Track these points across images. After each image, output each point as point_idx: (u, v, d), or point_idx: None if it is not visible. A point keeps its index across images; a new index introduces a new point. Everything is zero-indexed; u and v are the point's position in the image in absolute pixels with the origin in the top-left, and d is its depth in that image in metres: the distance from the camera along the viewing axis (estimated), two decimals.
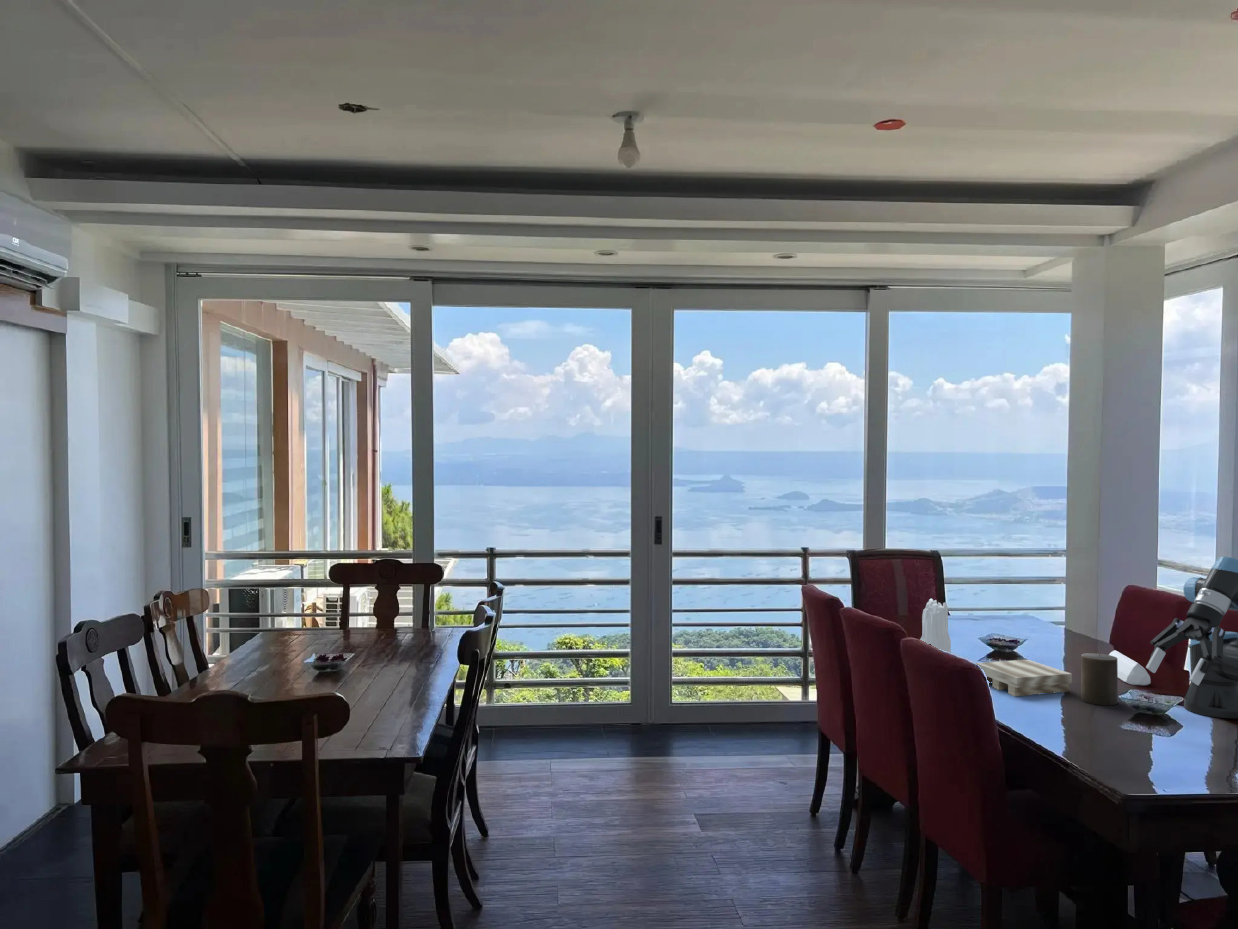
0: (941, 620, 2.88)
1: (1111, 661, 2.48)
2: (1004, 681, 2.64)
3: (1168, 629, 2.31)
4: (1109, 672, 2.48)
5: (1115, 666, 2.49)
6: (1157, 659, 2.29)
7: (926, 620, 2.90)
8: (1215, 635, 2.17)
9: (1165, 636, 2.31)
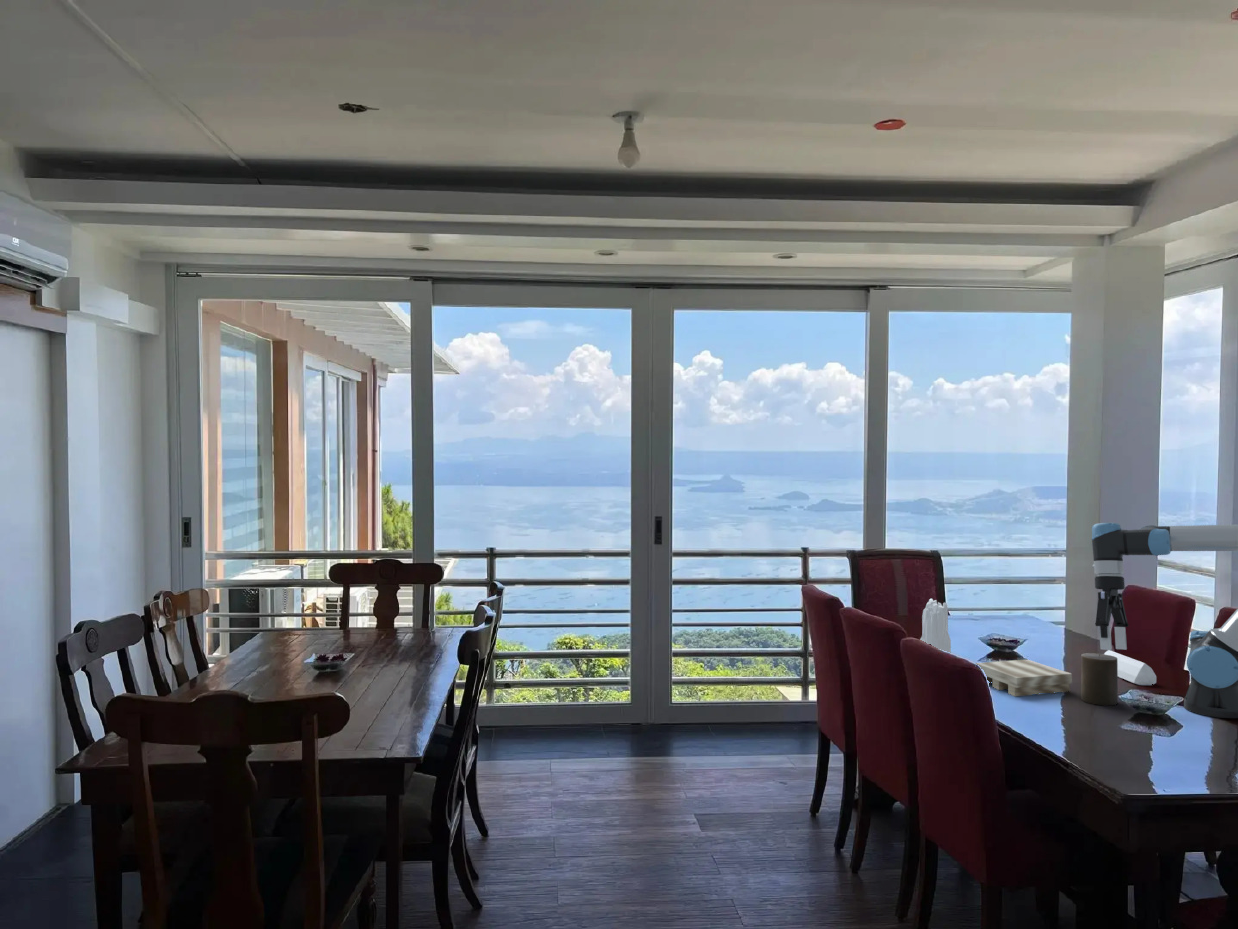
0: (941, 620, 2.88)
1: (1111, 661, 2.48)
2: (1004, 681, 2.64)
3: None
4: (1109, 672, 2.48)
5: (1115, 666, 2.49)
6: (1119, 636, 2.46)
7: (926, 620, 2.90)
8: None
9: None
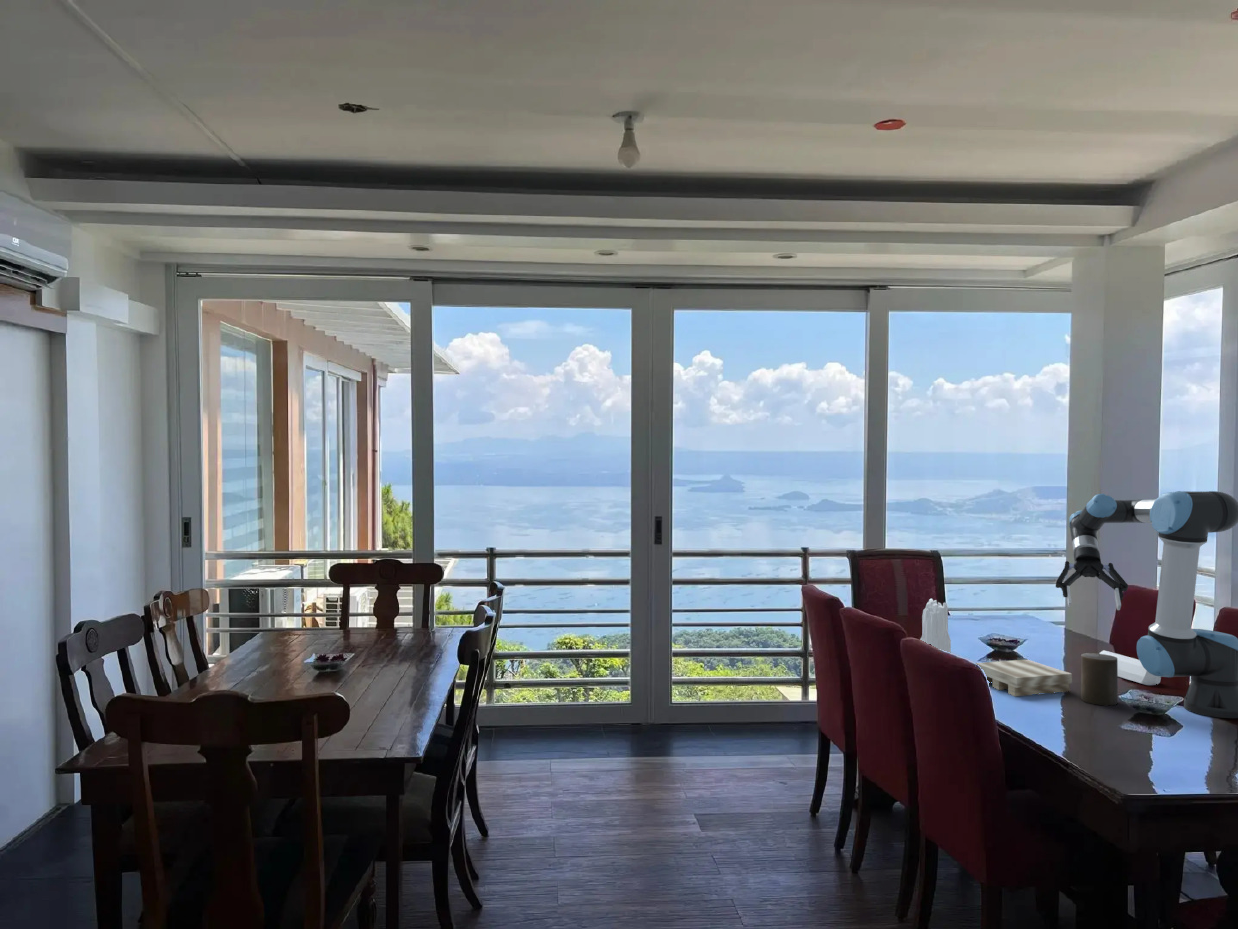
0: (941, 620, 2.88)
1: (1111, 661, 2.48)
2: (1004, 681, 2.64)
3: None
4: (1109, 672, 2.48)
5: (1115, 666, 2.49)
6: (1116, 598, 2.61)
7: (926, 620, 2.90)
8: None
9: (1116, 580, 2.66)
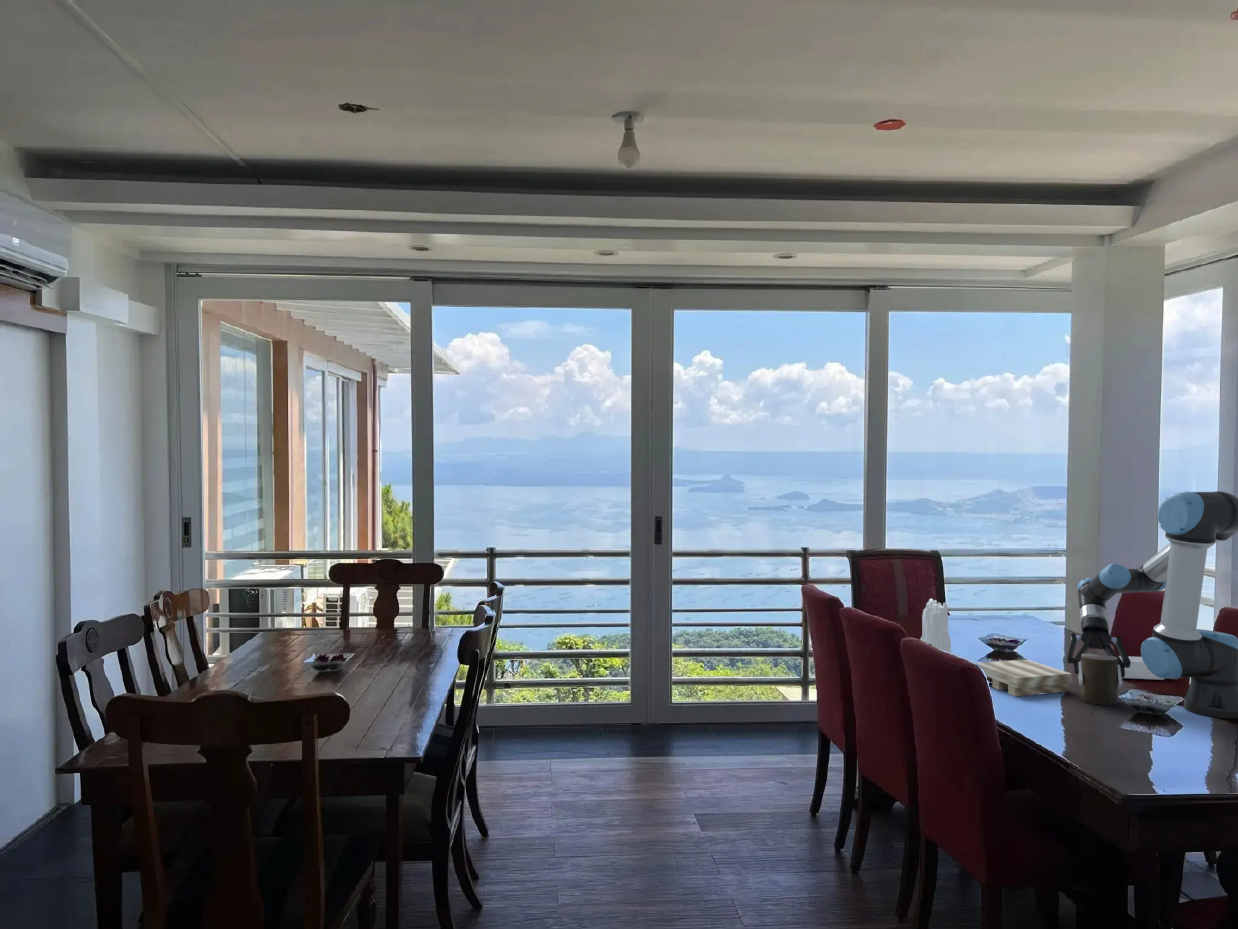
0: (941, 620, 2.88)
1: (1111, 661, 2.48)
2: (1004, 681, 2.64)
3: None
4: (1109, 672, 2.48)
5: (1115, 666, 2.49)
6: None
7: (926, 620, 2.90)
8: None
9: (1121, 655, 2.55)
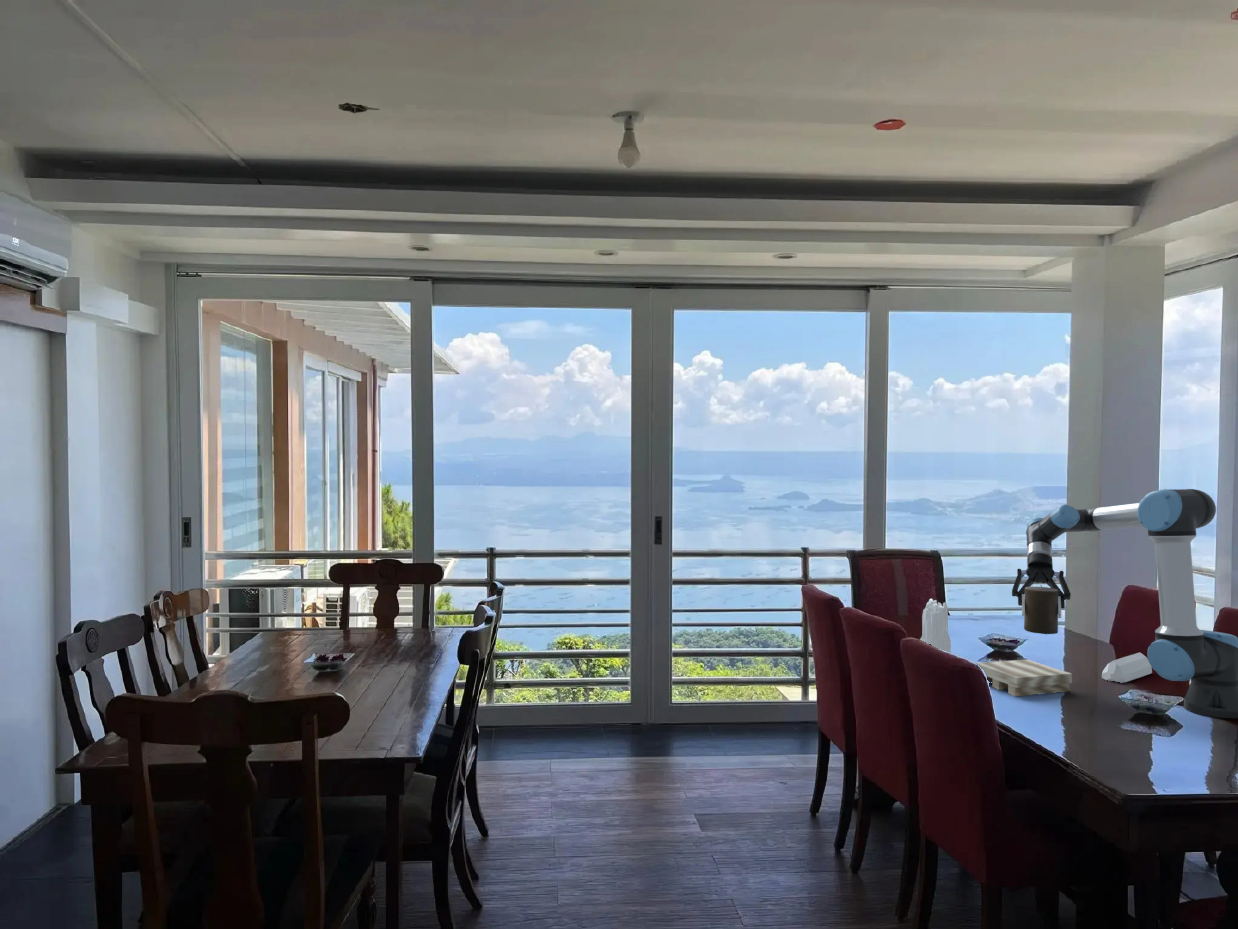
0: (941, 620, 2.88)
1: (1051, 592, 2.62)
2: (1004, 681, 2.64)
3: None
4: (1049, 602, 2.62)
5: (1055, 597, 2.63)
6: None
7: (926, 620, 2.90)
8: None
9: (1062, 588, 2.68)
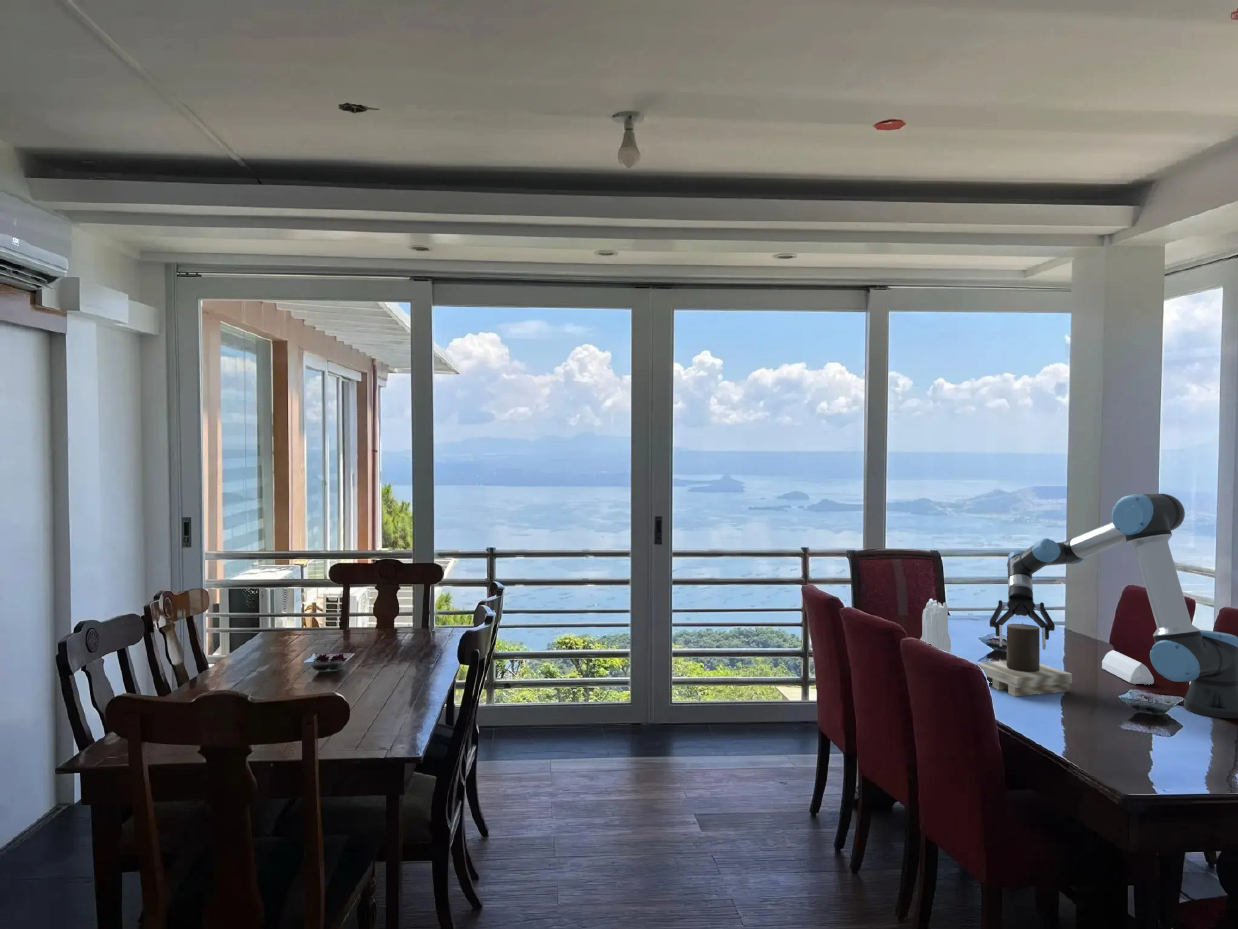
0: (941, 620, 2.88)
1: (1033, 630, 2.66)
2: (1004, 681, 2.64)
3: None
4: (1031, 640, 2.65)
5: (1037, 635, 2.66)
6: (1042, 637, 2.68)
7: (926, 620, 2.90)
8: None
9: (1045, 620, 2.72)
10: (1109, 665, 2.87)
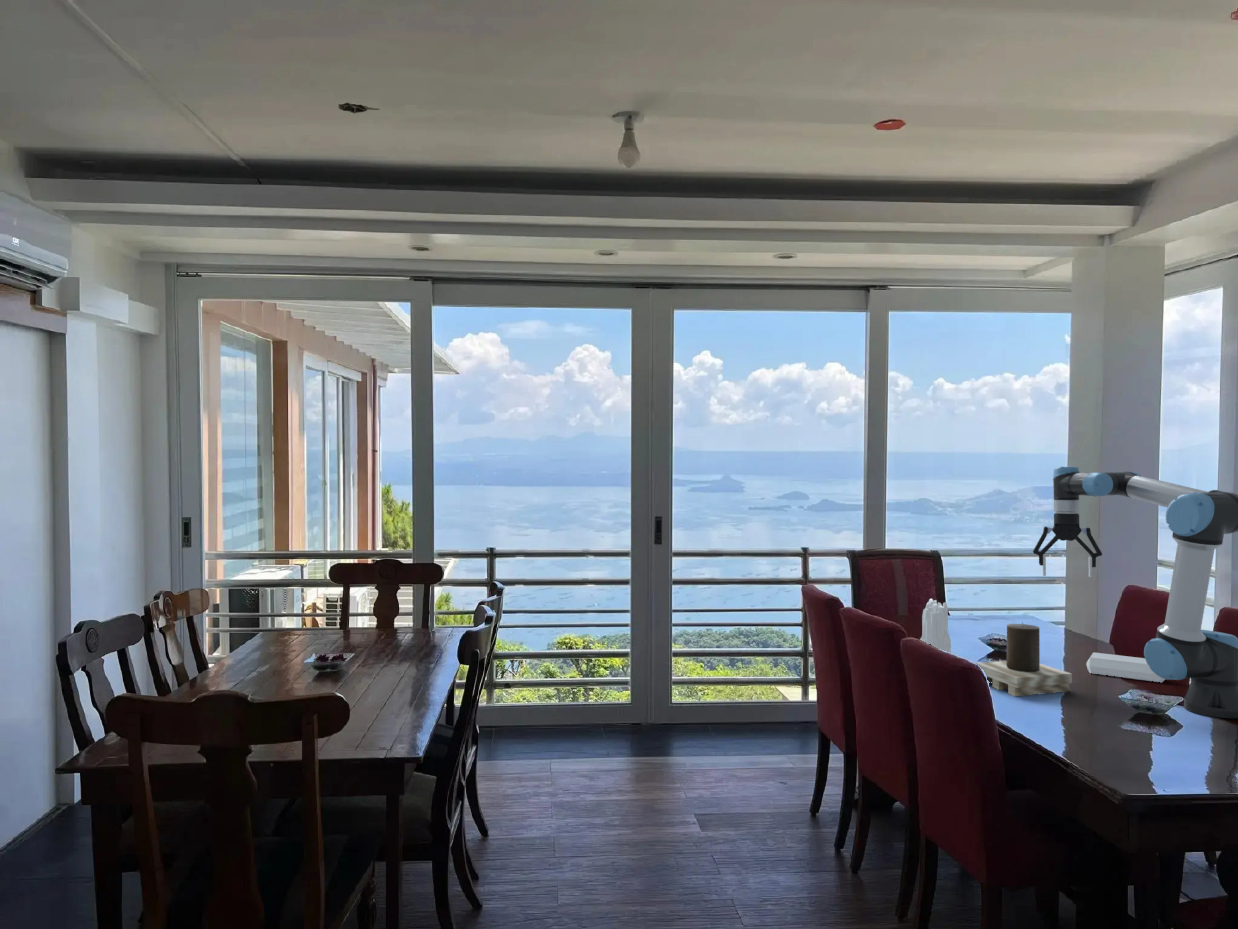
0: (941, 620, 2.88)
1: (1033, 630, 2.66)
2: (1004, 681, 2.64)
3: None
4: (1031, 640, 2.65)
5: (1037, 635, 2.66)
6: (1089, 566, 2.75)
7: (926, 620, 2.90)
8: None
9: (1092, 544, 2.75)
10: (1107, 669, 2.82)
